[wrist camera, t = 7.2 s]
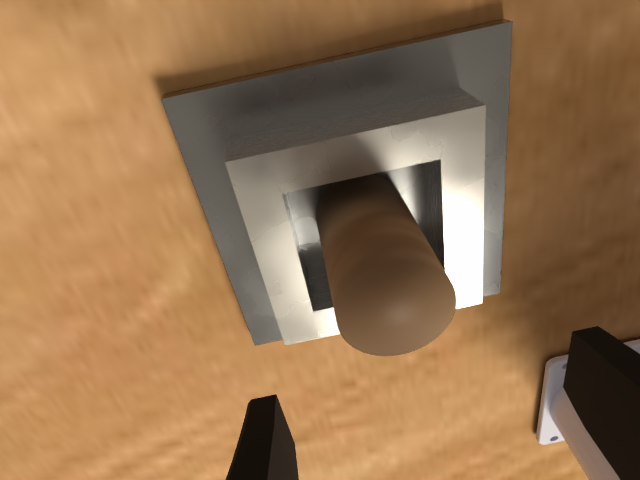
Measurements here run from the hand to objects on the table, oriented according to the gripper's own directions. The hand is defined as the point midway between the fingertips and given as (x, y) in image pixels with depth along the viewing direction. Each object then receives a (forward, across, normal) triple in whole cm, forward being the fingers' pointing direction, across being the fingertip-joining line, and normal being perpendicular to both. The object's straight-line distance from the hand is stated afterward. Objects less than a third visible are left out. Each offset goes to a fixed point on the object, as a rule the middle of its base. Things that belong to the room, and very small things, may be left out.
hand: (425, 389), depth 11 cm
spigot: (+9, 0, 0) cm, 9 cm away
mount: (+9, 0, 0) cm, 9 cm away
